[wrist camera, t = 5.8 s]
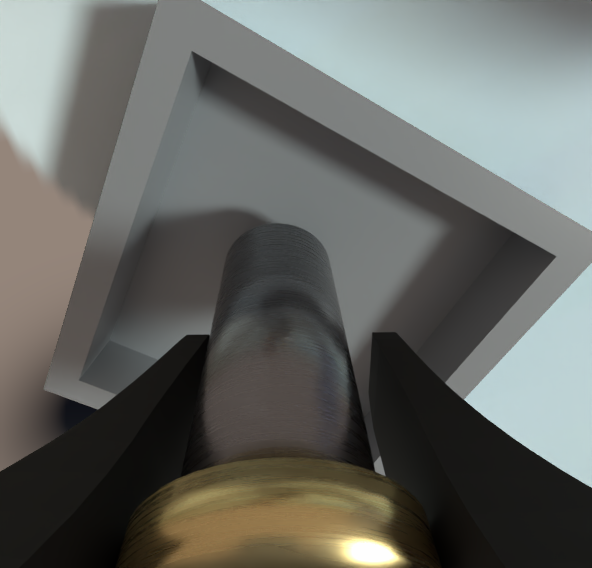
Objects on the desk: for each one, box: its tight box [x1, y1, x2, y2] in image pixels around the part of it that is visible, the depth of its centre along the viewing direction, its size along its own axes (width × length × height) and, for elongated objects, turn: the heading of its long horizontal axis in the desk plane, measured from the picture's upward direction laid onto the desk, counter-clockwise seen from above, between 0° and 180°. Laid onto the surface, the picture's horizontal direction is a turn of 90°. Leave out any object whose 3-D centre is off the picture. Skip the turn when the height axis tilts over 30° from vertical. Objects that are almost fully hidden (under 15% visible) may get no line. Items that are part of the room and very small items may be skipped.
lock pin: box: [115, 223, 442, 568], centre depth 9 cm, size 5×5×9 cm
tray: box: [44, 0, 592, 476], centre depth 14 cm, size 13×13×3 cm
